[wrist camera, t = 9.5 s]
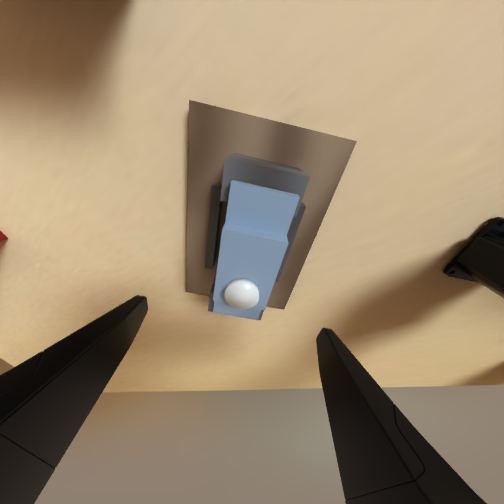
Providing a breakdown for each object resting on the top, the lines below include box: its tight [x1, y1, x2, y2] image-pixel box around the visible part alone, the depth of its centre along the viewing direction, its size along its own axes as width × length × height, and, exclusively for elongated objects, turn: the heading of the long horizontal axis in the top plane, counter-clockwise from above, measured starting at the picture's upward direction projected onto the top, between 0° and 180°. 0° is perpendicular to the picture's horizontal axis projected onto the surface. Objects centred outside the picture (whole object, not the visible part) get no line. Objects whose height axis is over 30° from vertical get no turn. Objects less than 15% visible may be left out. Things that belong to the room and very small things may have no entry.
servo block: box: [213, 180, 300, 320], centre depth 15 cm, size 4×11×7 cm, turn 168°
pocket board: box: [186, 100, 357, 320], centre depth 16 cm, size 12×18×5 cm, turn 168°
